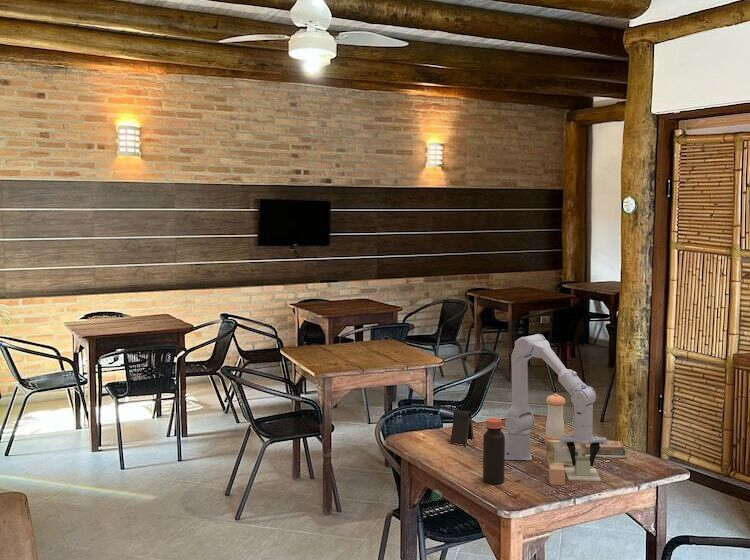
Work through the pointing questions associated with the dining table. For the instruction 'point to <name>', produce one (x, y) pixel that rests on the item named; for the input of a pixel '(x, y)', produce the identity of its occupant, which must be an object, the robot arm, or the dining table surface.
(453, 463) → the dining table surface
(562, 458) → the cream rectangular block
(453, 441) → the phone stand
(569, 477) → the mat
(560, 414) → the pepper shaker
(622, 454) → the packaged product
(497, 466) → the bottle
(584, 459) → the sage block
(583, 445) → the beige box
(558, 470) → the terracotta block
